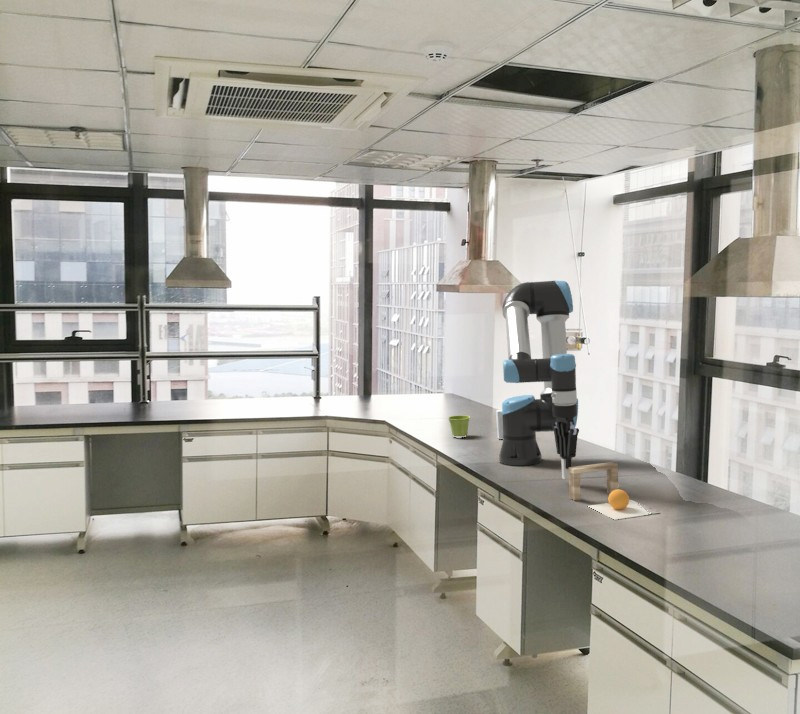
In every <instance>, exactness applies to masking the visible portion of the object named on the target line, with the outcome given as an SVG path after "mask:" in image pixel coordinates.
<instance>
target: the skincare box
mask: <svg viewBox="0 0 800 714" xmlns="http://www.w3.org/2000/svg"><path fill="white" fill-rule="evenodd" d="M495 414H496V415H495V416H496V419H495V420H496V432H497V433H496V434H497V439H498V438H499V439H503V416H502V409H495ZM499 439H498V440H499Z"/></svg>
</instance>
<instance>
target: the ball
mask: <svg viewBox="0 0 800 714" xmlns="http://www.w3.org/2000/svg"><path fill="white" fill-rule="evenodd" d="M607 499H608V500H607V501H608V503H609V504H610V505H611V506H612V507H613V508H614V509H617V510H621V509H624V508H626V507H627V506H628V504H629V500H630V497H629V495H628V493H627V492H626V491H625V490H622V489H621V488H620V489H619V488H618V489H617V490H614V491H612V492H611V493H610V494H608V498H607Z"/></svg>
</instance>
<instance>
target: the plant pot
mask: <svg viewBox="0 0 800 714" xmlns="http://www.w3.org/2000/svg"><path fill="white" fill-rule="evenodd" d="M447 419H448V421H449V424H450V428H451V434H452V436H453V435H454V436H465V435H467V436H468V432H469V430H468V429H469V422H470V419H471V416H470V415H466V414H465V415H464V414H462V415H461V414H460V415H452V416H449V417H447Z"/></svg>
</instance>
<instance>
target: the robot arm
mask: <svg viewBox="0 0 800 714" xmlns="http://www.w3.org/2000/svg"><path fill="white" fill-rule="evenodd" d="M573 312H574V305H573V295H572V292H571V287H570V285H569V283H568V282H567V281H565V280H548V281H546V280H545V281H534V282H533V281H532V282H531V281H530V282H529V281H528V282H523V283H519V284H518V285H516V286H515V287H513V288H512V289H511V290H510V291H509V292H508V294H507V295H506V297H505V298H504V300H503V303H502V316H503V318H504V320H505V323H506V324H505V325H506V326H505V327H506V340H507V358H508V359H504V360H503V362H502V369H503V370H502V371H503V381H504V382H506V383H508V384H509V383H510V384H514V383H515V384H523V383H543V390H542V391H541V393H540V394H539V397H540V398H538V399H537V398H535V396H534V395H533V394H525V395H524V394H523V395H517V396H512V397H509V398H506V399H504V401H502V403H501V410H502V416H503V440H502V444H501V447H500V451H499V455H498V459H499V460H498V462H499V461H500V462H501V464H503V463H504V464H503V465H507V464H508V466H531V465H536V464H539V463H541V462H542V459H543V456H542V453H541V450H540V447H539V444H538V442H537V436H536V435H537V434H536V433H542V432H553V433H554V442H555V449H556V454H557V455H559V457H560V458H561V459H560V461H561V464H560V465H561V479H563V480H569V471H568V468H569V467H573V466H572V463H573V461H572V459H573V458H575V457H576V455H577V445H578V435H579V433H580V430H579V429H580V428H577V427H576V426H577V421H578V417H579V415H578V414H579V399H578V397H577V377H576V376H577V374H576V373H577V372H576V370H577V368H576V367H577V363H576V356H575V355H574V354H572V353H568V350H567V332H566V330H567V329H566V328H567V327H566V322H567V321H568V319H569V318H570V314H571V313H573ZM530 315H536V320H537V321H538V322H539V323H540V329H541V346H542V347H541V351H542V358H532V353H531V342H530V332H529V331H530V330H529V329H530V328H529V320H528V319H529V318H528V317H530ZM500 462H499V463H500Z"/></svg>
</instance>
